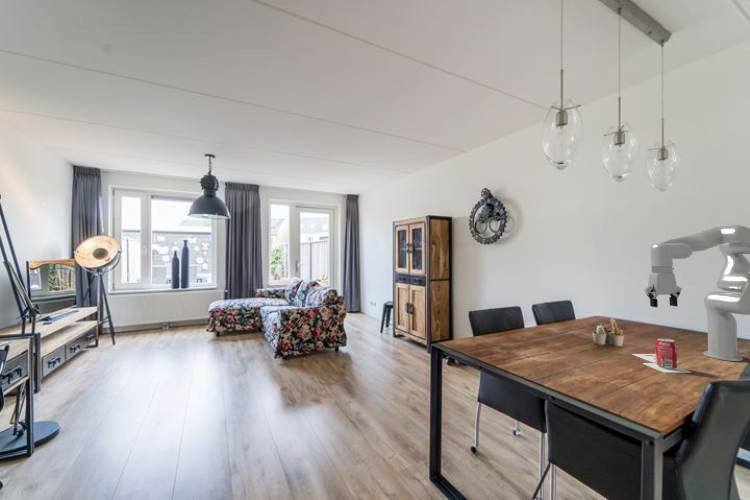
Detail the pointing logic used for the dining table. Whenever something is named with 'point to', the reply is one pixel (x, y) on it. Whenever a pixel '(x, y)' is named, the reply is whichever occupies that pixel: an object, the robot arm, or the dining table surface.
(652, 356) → the tile
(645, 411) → the dining table surface
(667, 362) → the soda can
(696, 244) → the robot arm
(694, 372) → the dining table surface
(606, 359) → the dining table surface
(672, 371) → the mat
